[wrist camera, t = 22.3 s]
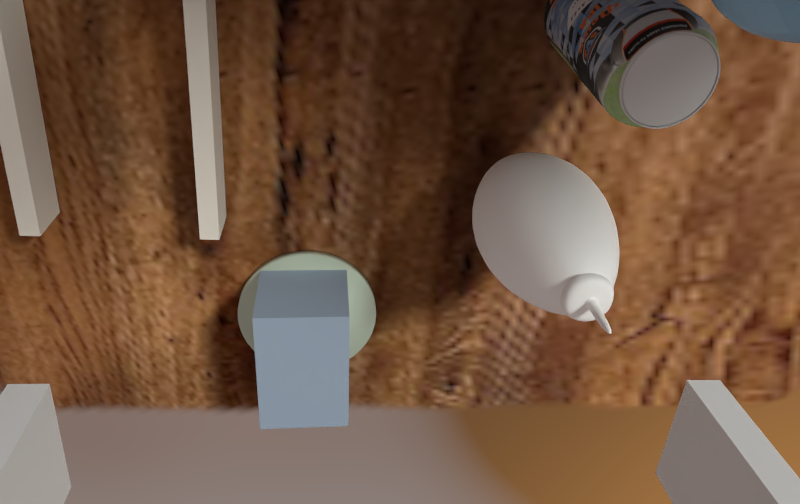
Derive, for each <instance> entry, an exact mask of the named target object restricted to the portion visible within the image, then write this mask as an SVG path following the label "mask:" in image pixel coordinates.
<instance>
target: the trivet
mask: <svg viewBox="0 0 800 504" xmlns="http://www.w3.org/2000/svg"><path fill="white" fill-rule="evenodd" d="M282 270H347V284H348V300H349V316H350V318H349V359H350V358H351V357H353V356H354V355H355V354H357V353H358V352H359V351H360V350H361V349H362V348H363V346H364V345H365V344H366V343H367V341H368V340H369V338H370V336H371V334H372V332H373V329H374V326H375V321H376V305H375V299H374V294H373V291H372V288H371V286H370V284H369V283H368V281H367V279H366V278H365V277H364V275H363V274H362V273H361V272H360V271H359V270H358V269H357V268H356V267H354V266H353V265H352V264H351V263H349V262H347V261H346V260H344V259H342V258H340V257H338V256H335V255H332V254H329V253H325V252H320V251H310V250H306V251H295V252H289V253H285V254H282V255H279V256H277V257H274V258H272V259H270V260H269V261H267V262H265V263H264V264H262V265H261V266H260V267H258V268H257V269H256V270H255V271H254V272H253V273H252V274H251V276H250V277H249V278H248V280H247V281H246V283H245V285H244V287H243V289H242V292H241V295H240V300H239V305H238V323H239V327H240V330H241V333H242V335H243V337H244V339H245V340H246V342H247V343H248V345H249V346H250V347H251V348H252V349H253V350H254V351H255V349H254V334H253V320H252V318H253V312H254V306H255V300H256V294H257V288H258V282H259V276H260V271H282Z"/></svg>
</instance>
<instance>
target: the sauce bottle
mask: <svg viewBox="0 0 800 504" xmlns="http://www.w3.org/2000/svg"><path fill="white" fill-rule="evenodd" d="M472 226H473V231H474V236H475V240H476V244H477V247H478V249H479V251H480V254H481V255H482V257H483V259H484V261H485V263H486V265H487V267H488V268H489V269H490V271H491V272H492V273H493V274H494V275H495V277H496V278H497V279H498V280H499V281H500V282H501V283H502V284H503V285H504V286H505V287H506V288H507V289H509V290H510V291H511V292H512V293H514V294H515V295H517V296H518V297H520V298H521V299H523V300H525V301H526V302H528V303H530V304H532V305H534V306H536V307H538V308H541V309H543V310H546V311H549V312H552V313H557V314H562V315H567V316H569V317H570V318H572V319H575V320H578V321H592V320H597V322H598V323H599V324H600V326H601V327H602V328H603V329H604V330H605V331H606V332H607V333H609V334H611V328H610V326H609V323H608V321H607V319H606V318H605V316H604V314H605V313H606V312H607V311H608V309H609V308H610V306H611V304H612V302H613V298H614V291H613V287H614V284H615V280H616V277H617V273H618V266H619V242H618V233H617V228H616V224H615V220H614V218H613V215H612V212H611V210H610V207H609V205H608V203H607V200H606V199H605V197H604V195H603V194H602V193H601V191H600V190H599V189H598V187H597V186H596V185H595V183H594V182H593V181H592V180H591V179H590V178H589V177H588V176H587V175H586V174H585V173H583V172H582V171H581V170H580V169H578V168H577V167H576V166H574V165H573V164H571V163H569V162H567V161H565V160H563V159H561V158H558V157H555V156H552V155H548V154H544V153H534V152H526V153H517V154H513V155H510V156H507V157H505V158H503V159H501V160H499V161H498V162H496V163H495V164H494V165H493V166H491V168H490V169H489V170H488V171H487V172H486V174H485V175H484V177H483V178H482V180H481V182H480V184H479V186H478V189H477V191H476V194H475V198H474V203H473V209H472Z"/></svg>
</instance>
